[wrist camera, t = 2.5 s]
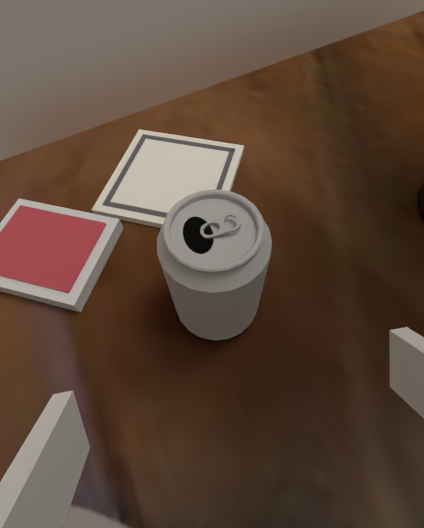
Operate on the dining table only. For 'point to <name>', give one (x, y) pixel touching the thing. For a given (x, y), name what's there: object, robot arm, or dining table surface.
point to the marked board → (165, 175)
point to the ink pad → (54, 252)
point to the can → (215, 261)
